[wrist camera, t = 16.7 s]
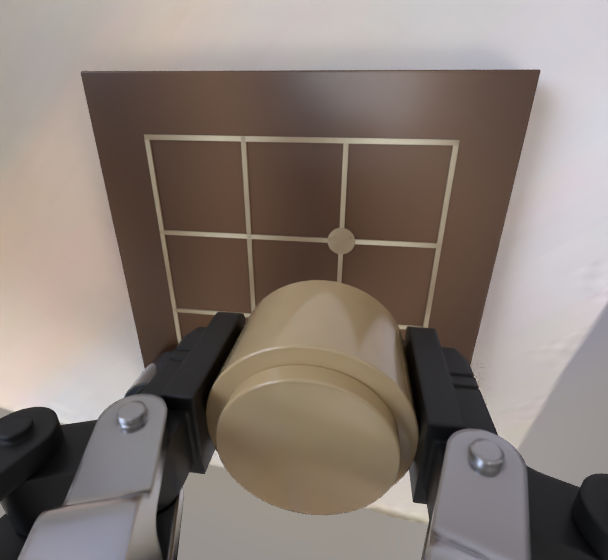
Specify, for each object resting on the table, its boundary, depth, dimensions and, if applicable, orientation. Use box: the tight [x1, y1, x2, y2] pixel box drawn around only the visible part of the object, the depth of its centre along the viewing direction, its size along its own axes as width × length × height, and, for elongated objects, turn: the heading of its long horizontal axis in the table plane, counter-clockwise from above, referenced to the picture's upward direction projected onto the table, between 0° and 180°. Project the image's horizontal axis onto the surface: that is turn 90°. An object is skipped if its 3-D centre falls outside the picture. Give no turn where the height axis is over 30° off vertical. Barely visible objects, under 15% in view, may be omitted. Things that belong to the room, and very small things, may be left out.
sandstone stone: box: [206, 280, 419, 515], centre depth 9 cm, size 5×5×4 cm
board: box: [81, 70, 540, 369], centre depth 21 cm, size 20×20×2 cm
